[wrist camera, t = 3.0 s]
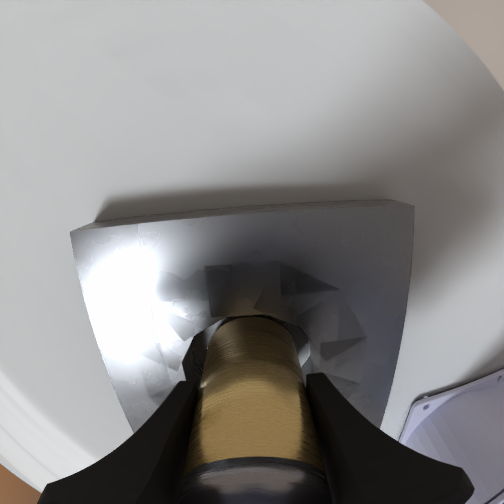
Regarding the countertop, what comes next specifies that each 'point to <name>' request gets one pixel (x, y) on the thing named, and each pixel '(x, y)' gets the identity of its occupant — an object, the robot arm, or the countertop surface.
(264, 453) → the cylindrical knob
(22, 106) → the countertop surface
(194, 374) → the housing
